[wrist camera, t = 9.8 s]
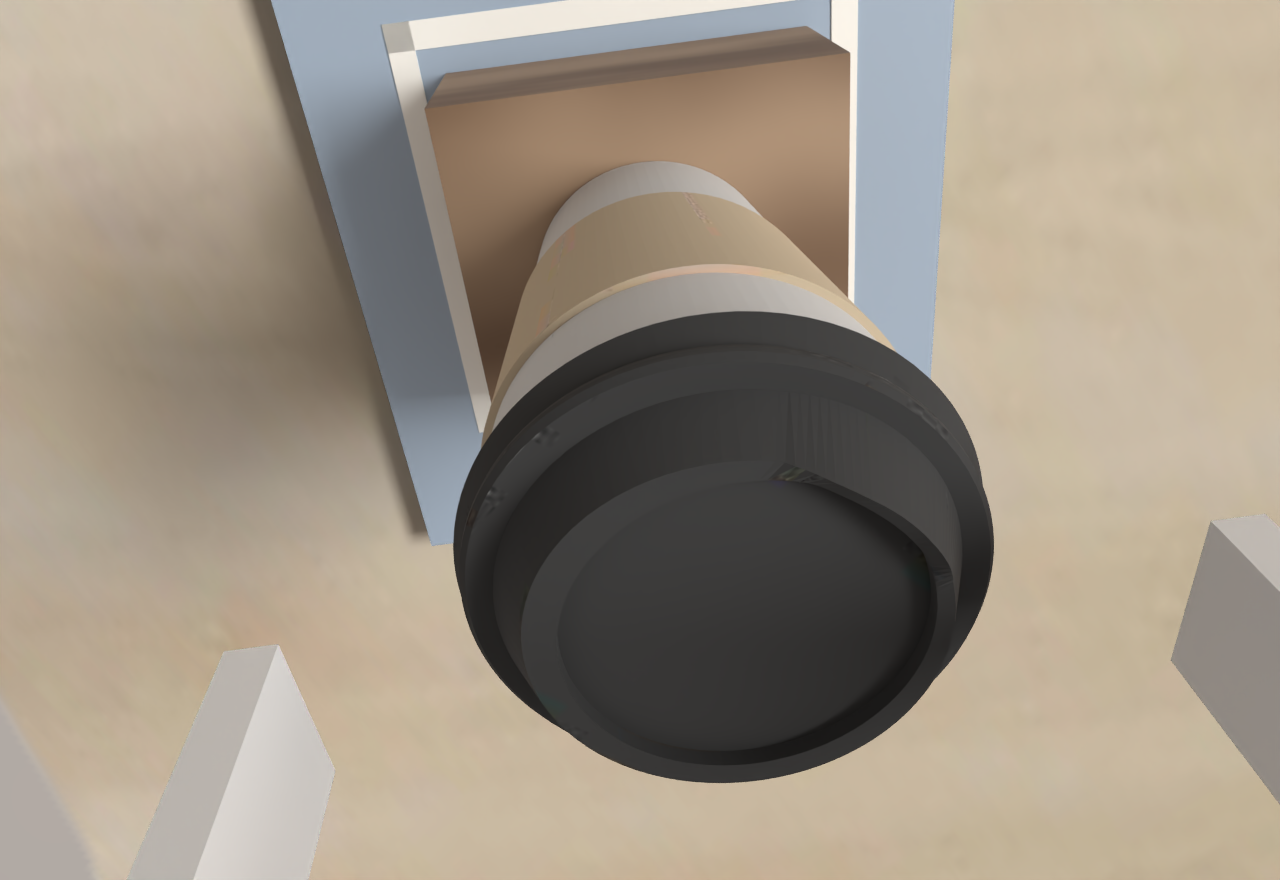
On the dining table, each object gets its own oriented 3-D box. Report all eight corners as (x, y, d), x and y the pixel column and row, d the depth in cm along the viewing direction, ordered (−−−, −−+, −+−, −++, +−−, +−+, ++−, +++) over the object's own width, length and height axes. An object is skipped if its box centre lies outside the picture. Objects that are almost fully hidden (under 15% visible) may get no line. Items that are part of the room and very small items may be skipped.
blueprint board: (234, -162, 25) (222, -163, 24) (957, -257, 25) (971, -262, 24) (434, 530, 38) (431, 546, 37) (915, 467, 38) (924, 481, 37)
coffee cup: (673, 465, 30) (757, 908, 17) (434, 306, 26) (316, 714, 14) (877, 254, 26) (1171, 610, 14) (635, 40, 23) (728, 251, 10)
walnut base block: (445, 73, 28) (424, 108, 23) (806, 25, 28) (850, 52, 23) (512, 390, 33) (505, 465, 29) (811, 351, 34) (847, 419, 29)
